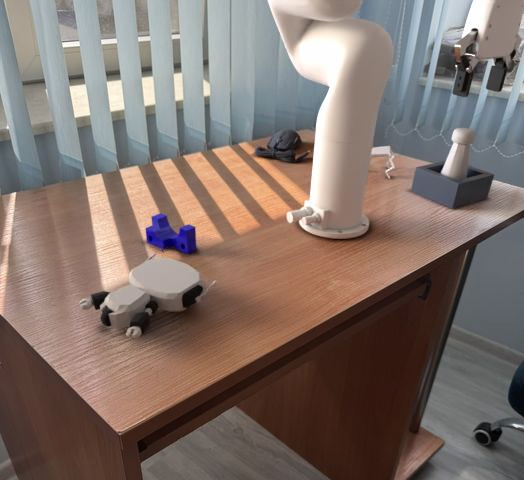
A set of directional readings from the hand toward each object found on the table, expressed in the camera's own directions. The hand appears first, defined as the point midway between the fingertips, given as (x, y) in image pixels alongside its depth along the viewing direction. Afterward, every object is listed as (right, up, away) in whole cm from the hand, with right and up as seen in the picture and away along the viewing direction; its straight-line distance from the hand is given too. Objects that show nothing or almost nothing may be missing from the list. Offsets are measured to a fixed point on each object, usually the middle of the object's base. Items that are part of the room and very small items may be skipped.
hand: (476, 93), depth 97 cm
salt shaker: (-1, -16, +12) cm, 20 cm away
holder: (-1, -16, +11) cm, 19 cm away
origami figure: (-13, -8, +22) cm, 26 cm away
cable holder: (-55, -31, -11) cm, 64 cm away
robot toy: (-55, -43, -27) cm, 75 cm away
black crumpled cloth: (-33, +1, +32) cm, 46 cm away
